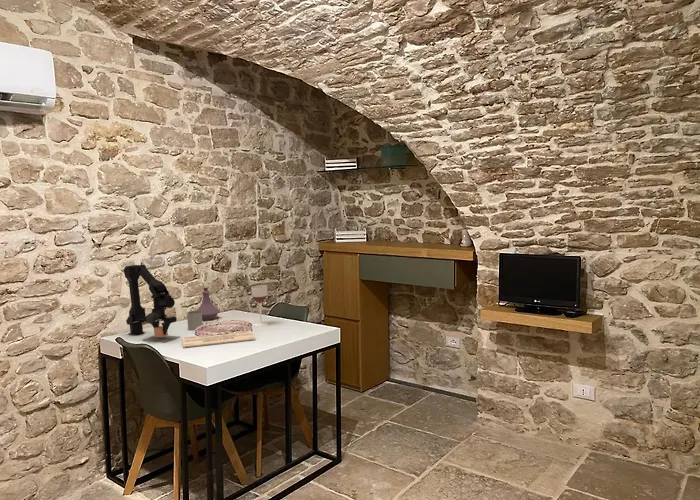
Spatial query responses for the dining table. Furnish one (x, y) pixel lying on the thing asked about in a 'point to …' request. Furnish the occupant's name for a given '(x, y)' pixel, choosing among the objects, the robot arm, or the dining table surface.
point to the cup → (194, 319)
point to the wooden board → (217, 339)
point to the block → (159, 332)
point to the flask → (207, 307)
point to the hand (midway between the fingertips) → (161, 334)
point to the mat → (159, 339)
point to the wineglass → (259, 298)
